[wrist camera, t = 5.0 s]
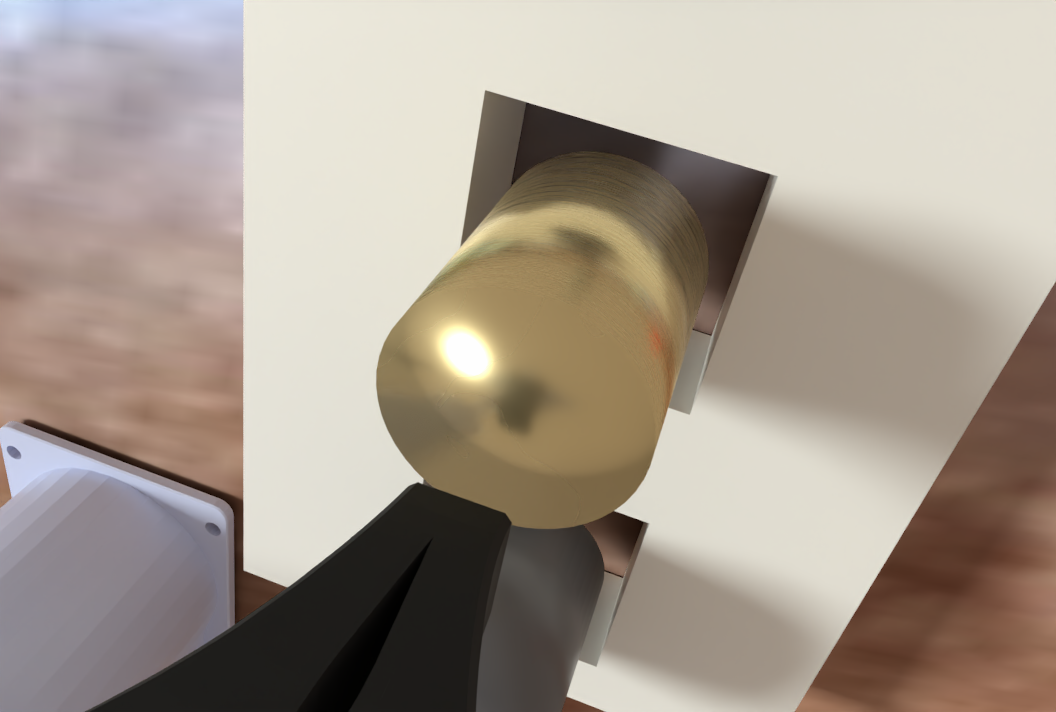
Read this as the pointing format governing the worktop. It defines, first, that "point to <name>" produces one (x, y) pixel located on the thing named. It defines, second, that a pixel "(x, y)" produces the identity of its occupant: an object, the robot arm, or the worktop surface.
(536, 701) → the knob
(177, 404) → the worktop surface
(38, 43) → the worktop surface
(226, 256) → the worktop surface
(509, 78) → the housing
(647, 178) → the knob middle
